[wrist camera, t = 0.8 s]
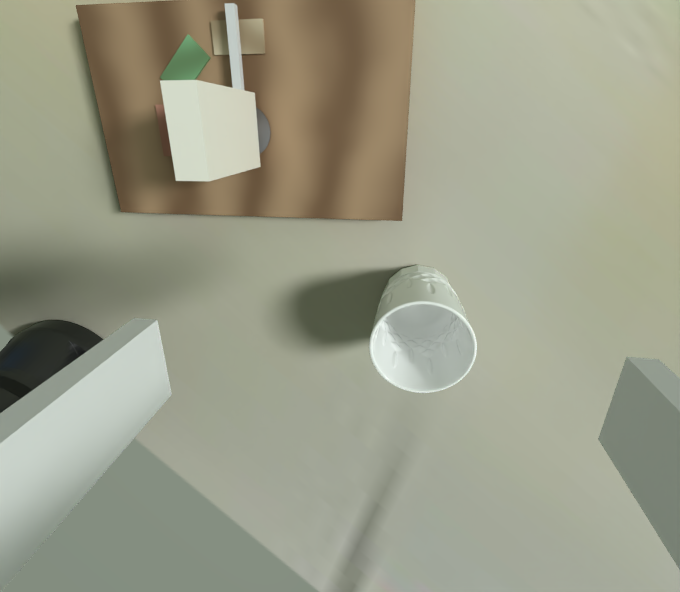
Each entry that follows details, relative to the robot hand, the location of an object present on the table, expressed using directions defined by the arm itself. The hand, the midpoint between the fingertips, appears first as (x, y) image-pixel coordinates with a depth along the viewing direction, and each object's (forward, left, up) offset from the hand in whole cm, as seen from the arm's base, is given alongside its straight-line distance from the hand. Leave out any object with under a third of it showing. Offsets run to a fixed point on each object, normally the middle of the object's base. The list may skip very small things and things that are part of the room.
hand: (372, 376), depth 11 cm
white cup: (+3, -9, -27) cm, 28 cm away
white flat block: (-12, +9, -23) cm, 28 cm away
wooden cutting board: (-12, +7, -27) cm, 30 cm away
